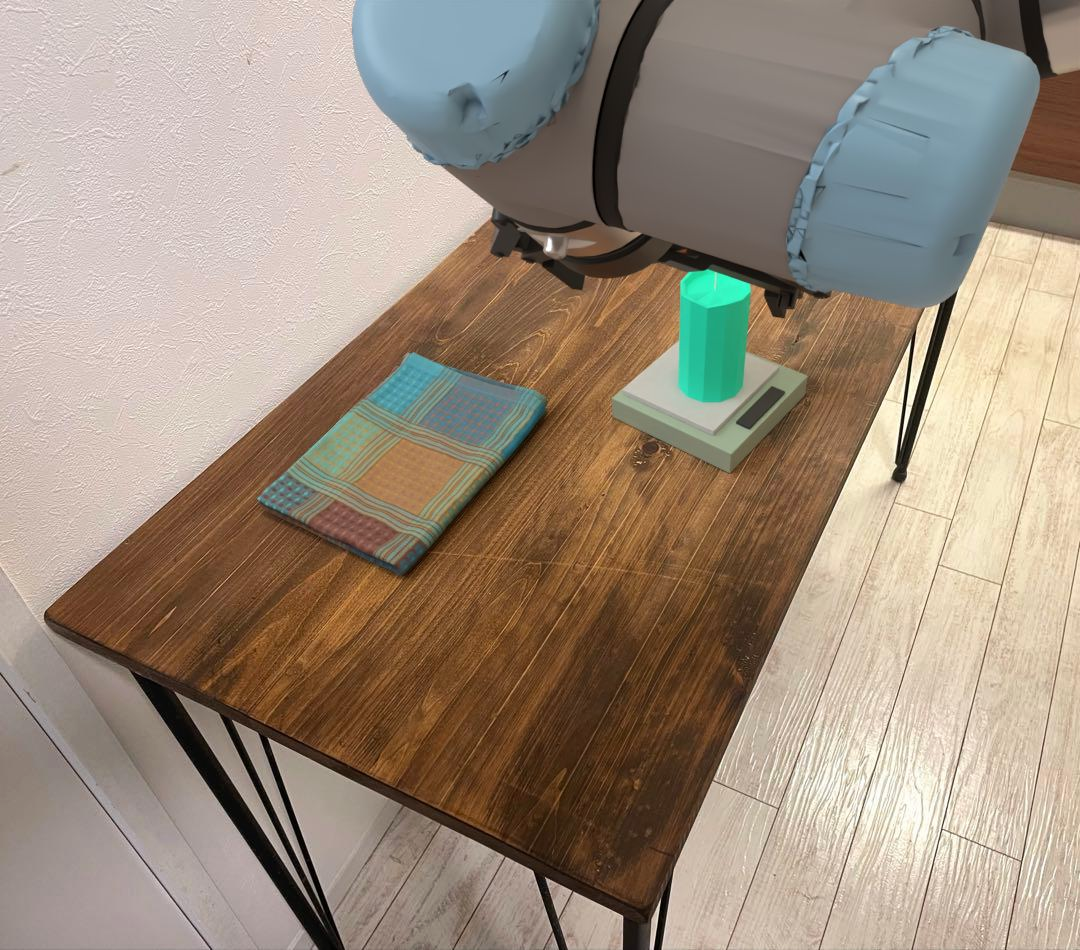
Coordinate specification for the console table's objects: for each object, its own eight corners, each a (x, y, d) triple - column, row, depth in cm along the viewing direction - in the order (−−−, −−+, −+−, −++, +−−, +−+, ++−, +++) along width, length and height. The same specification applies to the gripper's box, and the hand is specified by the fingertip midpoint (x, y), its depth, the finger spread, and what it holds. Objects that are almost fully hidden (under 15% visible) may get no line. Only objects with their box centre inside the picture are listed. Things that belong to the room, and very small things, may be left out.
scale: (805, 395, 87) (809, 370, 84) (729, 473, 80) (732, 449, 78) (690, 348, 93) (691, 324, 91) (612, 417, 87) (611, 392, 85)
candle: (686, 357, 87) (689, 246, 79) (749, 366, 86) (759, 254, 77) (670, 397, 84) (672, 284, 75) (736, 407, 82) (745, 293, 73)
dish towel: (555, 412, 88) (553, 392, 86) (407, 582, 75) (401, 562, 73) (414, 364, 95) (410, 345, 94) (256, 511, 82) (248, 491, 80)
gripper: (333, 229, 44) (494, 313, 64) (871, 298, 36) (863, 369, 56) (361, 74, 44) (515, 206, 64) (911, 110, 36) (889, 248, 56)
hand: (678, 283), depth 60 cm, fingers open, 13 cm apart
